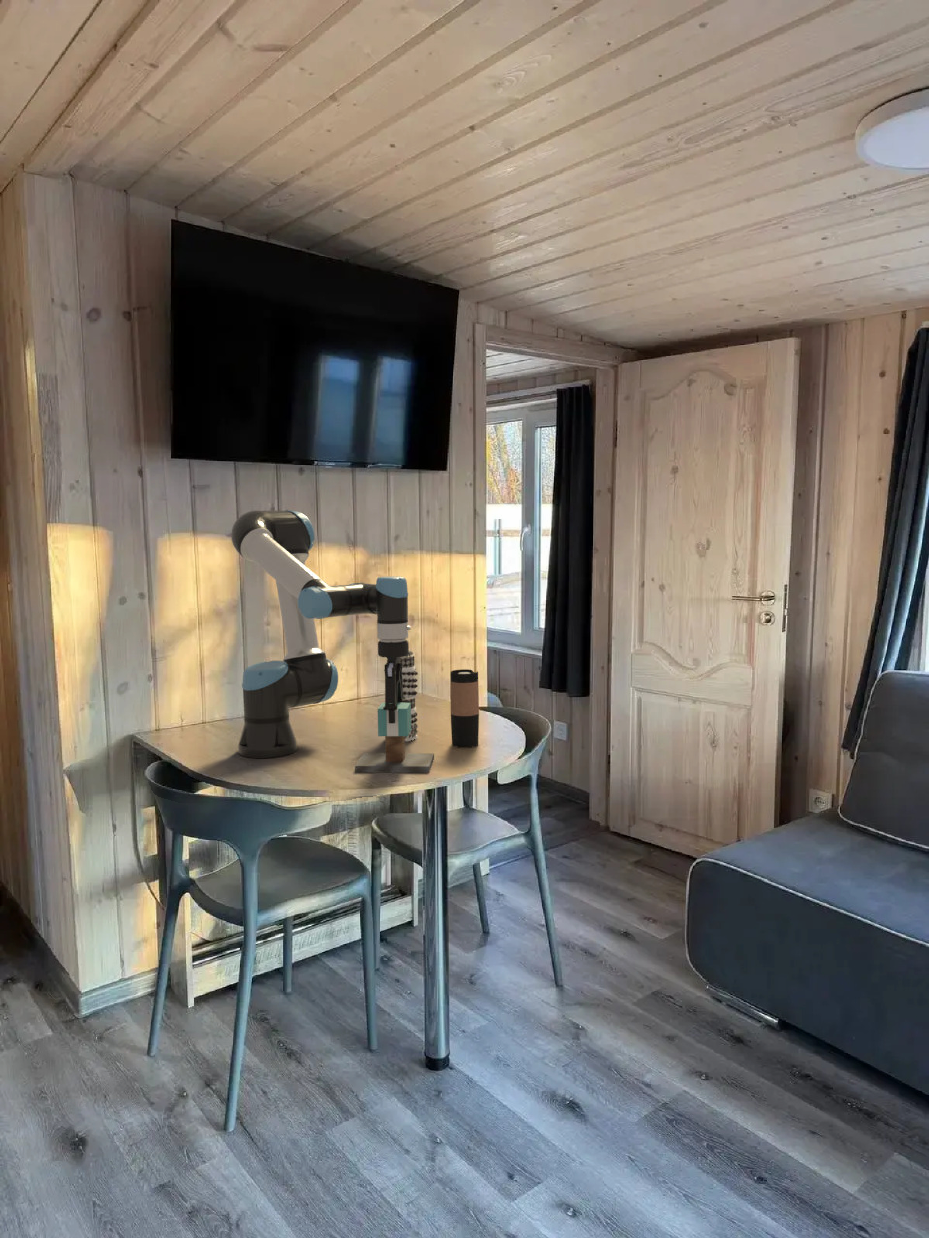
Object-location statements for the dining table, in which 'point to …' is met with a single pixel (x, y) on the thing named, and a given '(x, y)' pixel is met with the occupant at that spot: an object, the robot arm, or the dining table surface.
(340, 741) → the dining table surface
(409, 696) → the decorative candle
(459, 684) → the travel mug
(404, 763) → the grey base with post
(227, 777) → the dining table surface
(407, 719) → the mint green cube
